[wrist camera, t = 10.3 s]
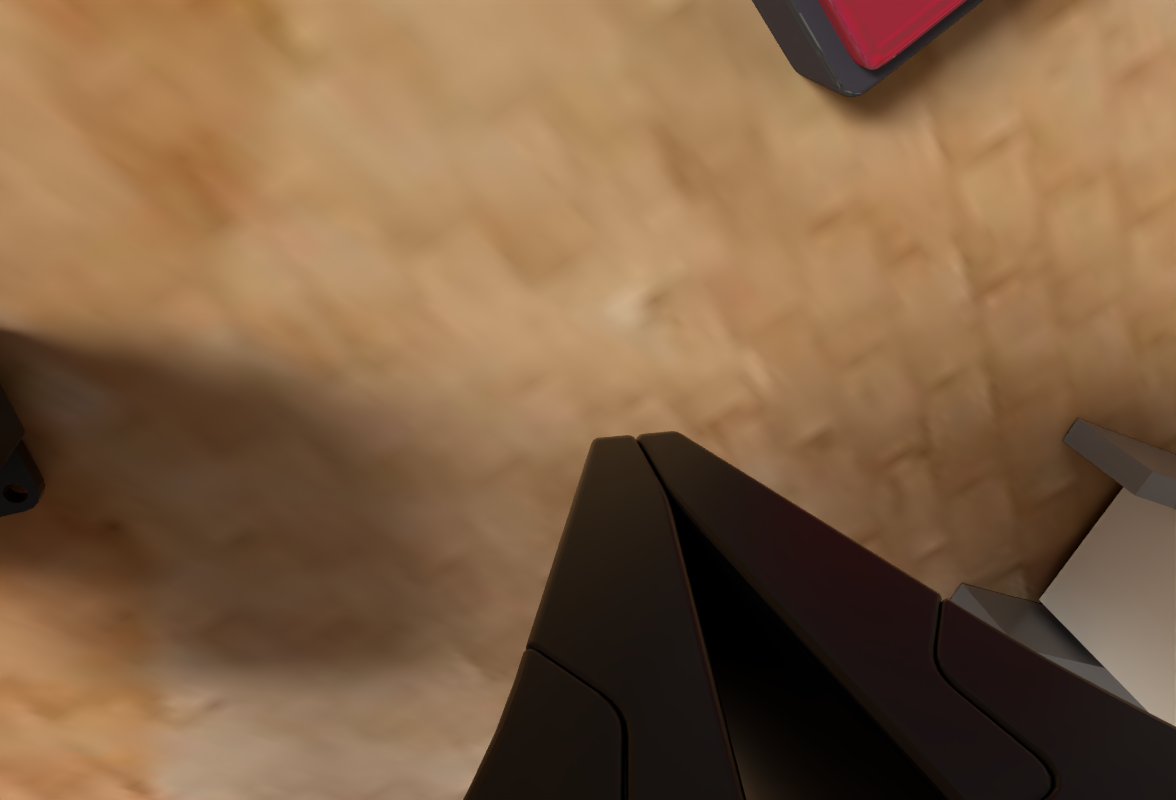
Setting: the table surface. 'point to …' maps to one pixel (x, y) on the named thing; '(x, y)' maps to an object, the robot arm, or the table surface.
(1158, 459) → the gray two-slot stand
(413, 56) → the table surface
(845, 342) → the table surface
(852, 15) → the black paneled box
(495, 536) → the table surface
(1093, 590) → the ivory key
